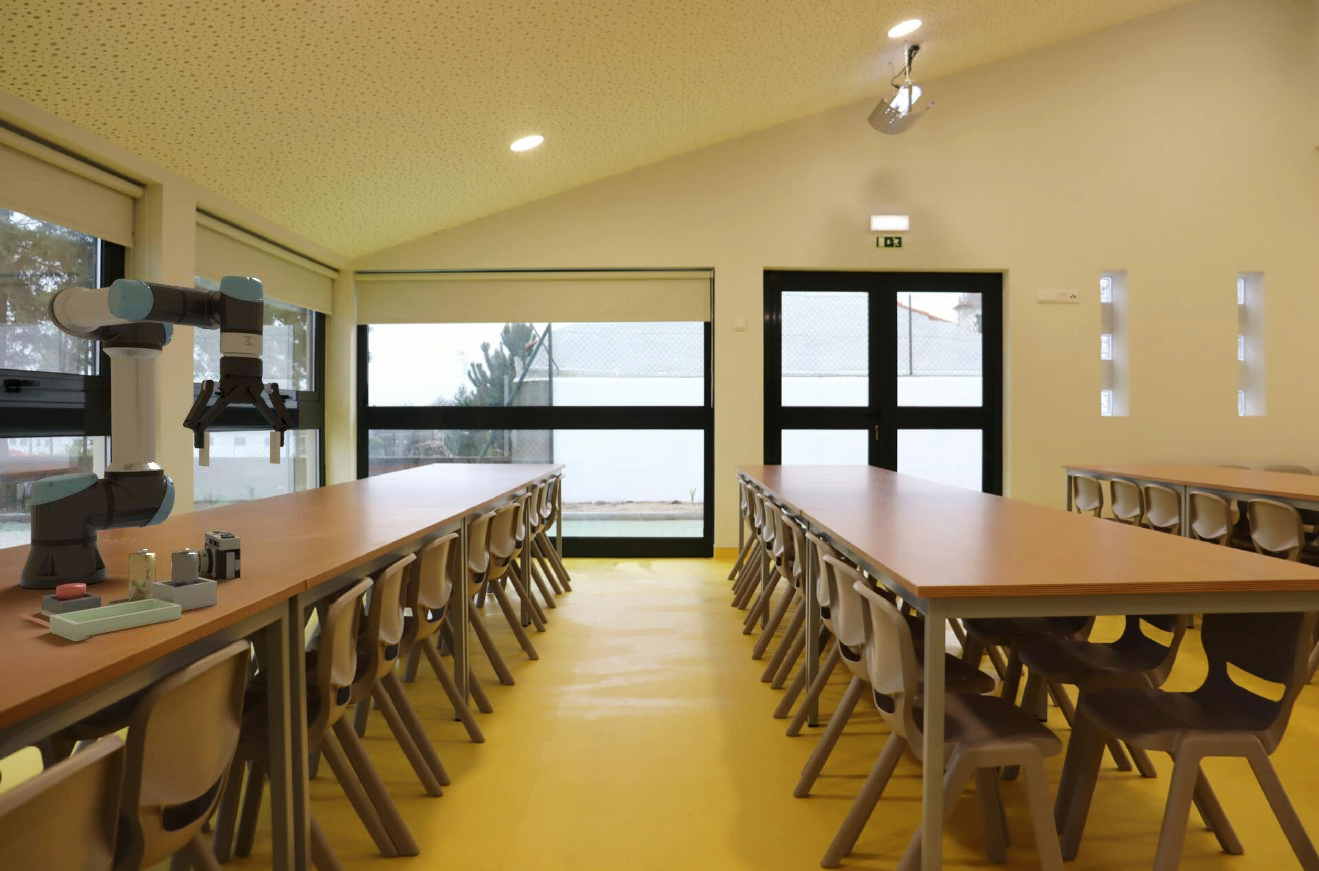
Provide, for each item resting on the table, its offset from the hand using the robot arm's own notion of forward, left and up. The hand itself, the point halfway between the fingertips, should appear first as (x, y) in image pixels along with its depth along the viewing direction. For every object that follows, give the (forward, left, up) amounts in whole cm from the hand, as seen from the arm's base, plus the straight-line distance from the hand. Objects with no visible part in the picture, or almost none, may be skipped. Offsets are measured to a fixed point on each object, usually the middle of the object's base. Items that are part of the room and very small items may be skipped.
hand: (240, 464), depth 158 cm
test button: (-14, -23, -24) cm, 36 cm away
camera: (-29, +10, -28) cm, 41 cm away
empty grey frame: (-13, -12, -27) cm, 33 cm away
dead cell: (-4, -8, -27) cm, 28 cm away
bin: (-4, -8, -27) cm, 29 cm away
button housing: (-14, -23, -27) cm, 39 cm away
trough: (0, -22, -27) cm, 35 cm away
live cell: (-13, -12, -27) cm, 33 cm away
